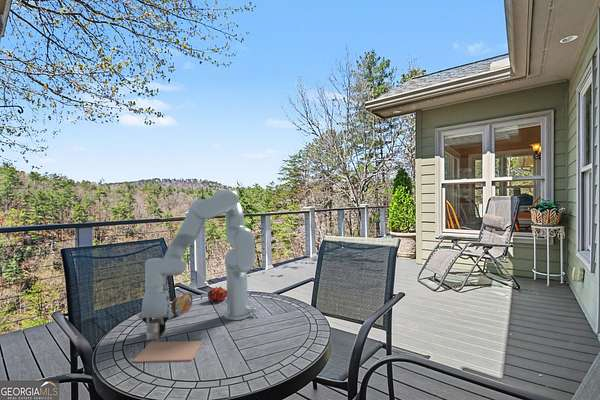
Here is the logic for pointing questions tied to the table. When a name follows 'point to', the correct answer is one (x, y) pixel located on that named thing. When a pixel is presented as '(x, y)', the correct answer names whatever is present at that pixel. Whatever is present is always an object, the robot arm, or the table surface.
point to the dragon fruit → (217, 294)
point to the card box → (153, 329)
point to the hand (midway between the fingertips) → (156, 332)
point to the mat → (169, 351)
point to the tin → (181, 304)
